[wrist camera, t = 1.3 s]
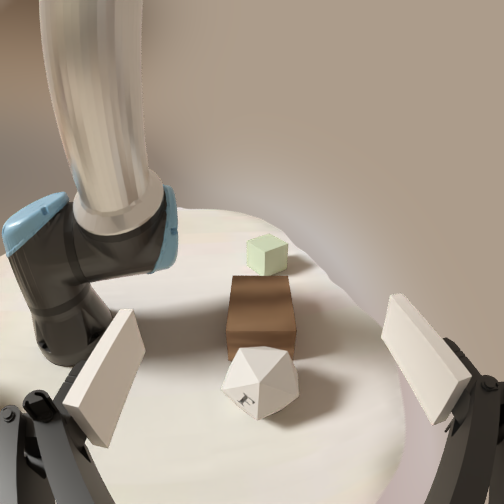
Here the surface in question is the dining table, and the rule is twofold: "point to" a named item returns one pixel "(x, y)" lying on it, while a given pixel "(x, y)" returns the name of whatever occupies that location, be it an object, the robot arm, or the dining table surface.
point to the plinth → (260, 314)
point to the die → (261, 381)
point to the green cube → (267, 255)
